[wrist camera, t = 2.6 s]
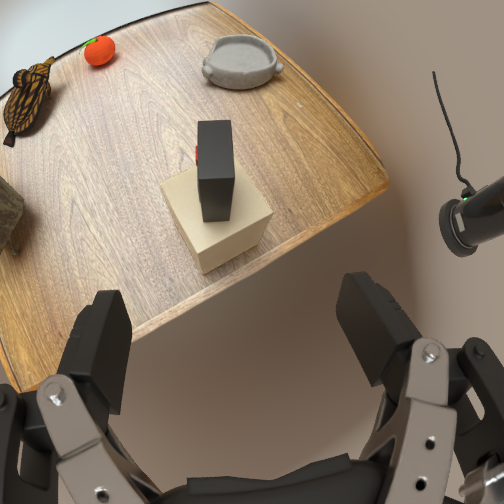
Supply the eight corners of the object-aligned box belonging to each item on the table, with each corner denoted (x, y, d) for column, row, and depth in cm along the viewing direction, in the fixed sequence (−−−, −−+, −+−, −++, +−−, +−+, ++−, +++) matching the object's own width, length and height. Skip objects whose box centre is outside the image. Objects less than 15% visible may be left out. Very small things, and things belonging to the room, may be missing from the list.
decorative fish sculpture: (61, 121, 38) (37, 81, 27) (1, 153, 35) (-28, 122, 24) (69, 79, 41) (52, 41, 29) (13, 107, 38) (-8, 77, 26)
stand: (226, 195, 38) (231, 149, 27) (257, 244, 36) (274, 212, 26) (174, 222, 36) (158, 183, 25) (203, 275, 35) (197, 254, 24)
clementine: (82, 77, 41) (73, 53, 34) (86, 60, 42) (78, 38, 35) (117, 65, 42) (110, 40, 35) (118, 49, 44) (113, 26, 37)
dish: (202, 94, 42) (202, 73, 37) (201, 52, 45) (201, 34, 40) (284, 93, 44) (290, 74, 39) (271, 52, 47) (275, 34, 42)
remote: (226, 173, 26) (231, 119, 19) (229, 221, 25) (235, 177, 17) (199, 174, 26) (195, 120, 18) (201, 222, 25) (195, 179, 17)
